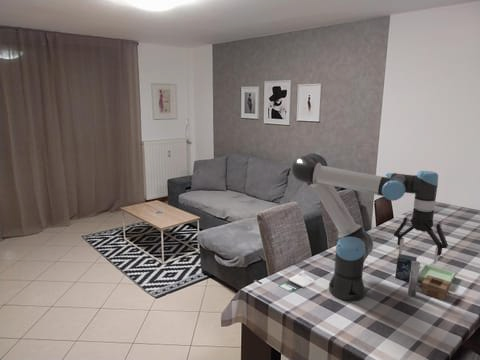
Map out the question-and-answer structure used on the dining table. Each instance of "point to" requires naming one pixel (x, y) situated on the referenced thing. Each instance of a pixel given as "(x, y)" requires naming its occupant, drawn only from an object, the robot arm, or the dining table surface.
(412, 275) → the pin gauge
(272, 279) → the dining table surface
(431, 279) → the tan square frame
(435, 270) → the tray
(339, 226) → the robot arm
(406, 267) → the box
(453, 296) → the dining table surface
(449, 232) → the dining table surface
